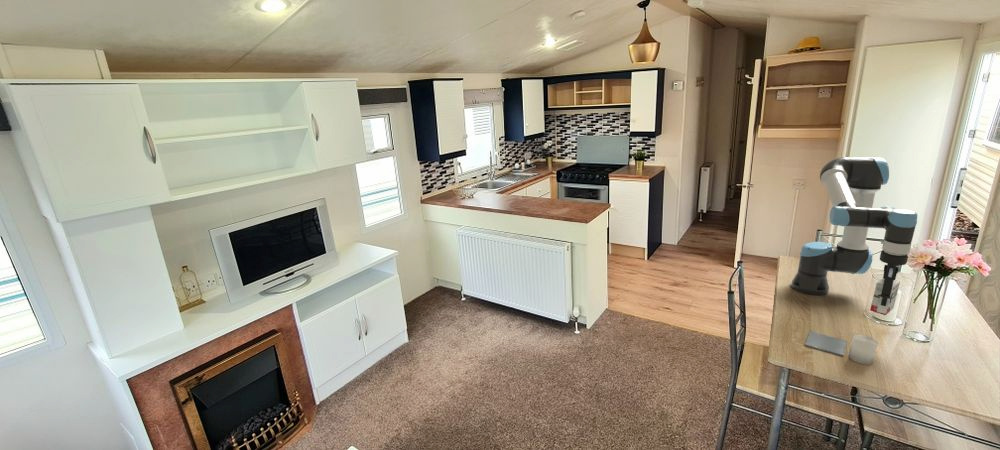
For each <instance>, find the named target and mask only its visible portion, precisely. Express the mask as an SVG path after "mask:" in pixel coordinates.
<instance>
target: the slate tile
mask: <svg viewBox="0 0 1000 450" xmlns="http://www.w3.org/2000/svg"><path fill="white" fill-rule="evenodd" d="M847 343H848V341H847V340H845V339H840V338H838V337H834V336H830V335H825V334H822V333H818V332H815V331H810V332H809V334H808V336H807V338H806V340H805V343H804V346H805V347H808V348H812V349H815V350H819V351H822V352H825V353H829V354H833V355H836V356H840V357H844V355H845V351H846V348H847Z"/></svg>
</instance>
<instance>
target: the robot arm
mask: <svg viewBox="0 0 1000 450" xmlns="http://www.w3.org/2000/svg"><path fill="white" fill-rule="evenodd" d="M889 179H890V168H889V164H888V162H887V160H886V159H884V158H883V157H875V156H874V157H869V156H868V157H867V156H866V157H865V156H861V157H859V156H858V157H847V156H844V157H843V156H842V157H838V158H835V159H832V160H830V161H828V162H826V164H825V165H824V166H823V167H822V169H821V171H820V173H819V180H820V182H821V184H822V185H823V186H825V188H826V191H827V194H828V197H829V198H830V202H831V205H832V207H831V209H830V212H829V223H830V224H831V225H833V226H840V227H844V228H843V233H842V238H841V240H840V241H838V242H837V243H836V246H832V244H831V243H828V242H824V241H811V242H807V243H804V244H803V245H802V246H801V249H800V252H799V256H800V257H799V263H798V268H797V272H796V274H795V275H794V277H793V279H792V281H791V284H790V285H791V288H793V290H795V291H797V292H800V293H801V294H806V295H809V296H810V295H812V296H823V295H824V296H825V295H827V294H828V293H829V290H830V285H829V281H828V277H827V276H828V272H832V273H833V272H834V273H835V272H836V273H846V274H851V275H855V274H856V275H863V274H865V273H867V272H868V271H869V270H870V268H871V265H872V263H873V256H874V255H873V254H874V253H873V251H872V250H871V249H869V248H870V247H869V245H867V244H866V242H867V236H868V232H869V228H870V229H871V228H873V229H884V230H885V231H884V232H885V233H884V237H883V240H882V241H881V242H880V244H881V245H882V246H881V247H882V248H881V251H880V255H879V261H880V262H881V263H885V264H884V266H883V275H882V278H884V284H883V288H882V293H881V295H879V294H878V296H880V299H879V304H878V308H877V312H880V313H884V314H886V313H887V308H888V304H889V300H890V297H891V296H890V295H891V290H892V286H893V281H894V280H896V277H897V274H898V273H899V268H900V267H899V266H904V265H907V264H908V259H909V254H910V251H911V248H912V247H911V246H912V244H913V238H914V234H915V230H916V227H917V223H918V213H917V211H912V210H910V209H902V208H898V209H897V208H895V207H892V206H889V205H888V206H886V205H884V206H881V207H878V208H877V207H874V206H873V205H874V200H875V196H876V193H877V192H878V191H880V190H881V189H882V188H881V187H882V186H883V185H887V184H888V181H889ZM886 315H887V314H886Z"/></svg>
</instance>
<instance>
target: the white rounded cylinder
mask: <svg viewBox="0 0 1000 450" xmlns="http://www.w3.org/2000/svg"><path fill="white" fill-rule="evenodd" d="M878 346H879V342H878V341H877V340H876V338H873V337H871V336H868V335H864V334H855V335H853V336H852V340H851V344H850V349H849V354H848V357H849V359H850V360H852V361H853V362H855V363H857V364H862V365H867V366H868V365H873V363H874V361H875V355H876V353H877V348H878Z"/></svg>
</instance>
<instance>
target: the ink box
mask: <svg viewBox="0 0 1000 450" xmlns="http://www.w3.org/2000/svg"><path fill="white" fill-rule="evenodd" d="M883 284H884V278H883V277H882V278H880V279H879V280H877V282H876V285H875V288H874V292H873V295H872V302H871V305H870V310H869V311H870V312H873V313H875V314H880V315H883V316H887V315H888V314H889V313H890V312H891V311H892V310H893V309H894V308H895V303H896V299H897V296H898V291H899V287H900V284H901V281H900V280H896V279H895V280H894V281H893V286H892V290H891V295H890V296H891V297H890V300H889V304H888V308H887V313H886V314H884V313H880V312H877V308H878V304H879V299H880V296H878V294H879V295H881V293H882V288H883Z"/></svg>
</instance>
